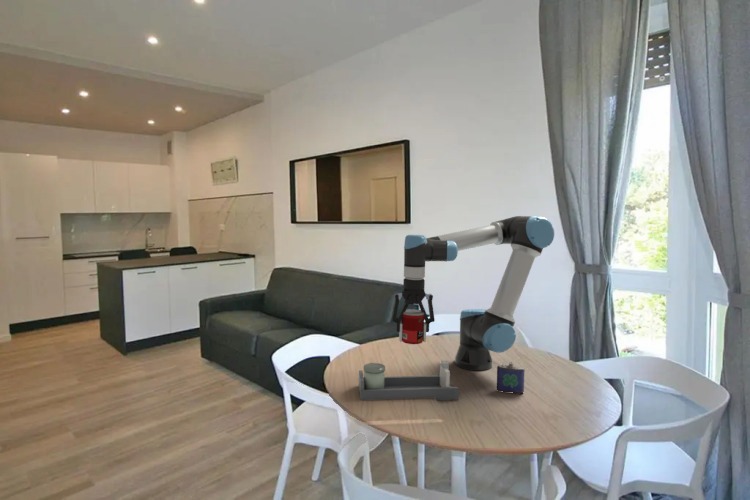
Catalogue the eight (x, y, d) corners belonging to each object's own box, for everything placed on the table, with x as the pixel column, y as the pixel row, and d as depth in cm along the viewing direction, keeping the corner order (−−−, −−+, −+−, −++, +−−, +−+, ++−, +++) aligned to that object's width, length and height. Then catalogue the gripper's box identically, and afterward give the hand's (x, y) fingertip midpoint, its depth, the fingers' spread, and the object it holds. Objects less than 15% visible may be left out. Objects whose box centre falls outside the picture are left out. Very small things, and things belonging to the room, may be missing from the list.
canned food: (421, 345, 149) (422, 314, 148) (399, 343, 151) (400, 312, 150) (424, 339, 157) (425, 309, 156) (403, 337, 159) (404, 308, 158)
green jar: (383, 387, 151) (383, 362, 150) (386, 396, 144) (386, 370, 143) (362, 388, 150) (362, 363, 149) (364, 397, 143) (364, 370, 142)
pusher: (443, 383, 154) (444, 357, 153) (450, 394, 145) (451, 366, 144) (438, 384, 153) (438, 358, 153) (444, 394, 145) (445, 366, 144)
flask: (523, 391, 151) (524, 362, 150) (524, 395, 148) (525, 365, 147) (496, 388, 153) (497, 359, 152) (496, 392, 150) (497, 362, 149)
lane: (449, 385, 155) (449, 367, 155) (458, 399, 144) (458, 379, 143) (358, 388, 152) (358, 369, 152) (360, 402, 141) (360, 382, 140)
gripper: (440, 277, 156) (438, 337, 158) (384, 276, 155) (382, 337, 157) (445, 280, 149) (442, 344, 151) (385, 279, 148) (384, 343, 150)
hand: (412, 340), depth 154 cm, fingers closed on canned food, 8 cm apart
